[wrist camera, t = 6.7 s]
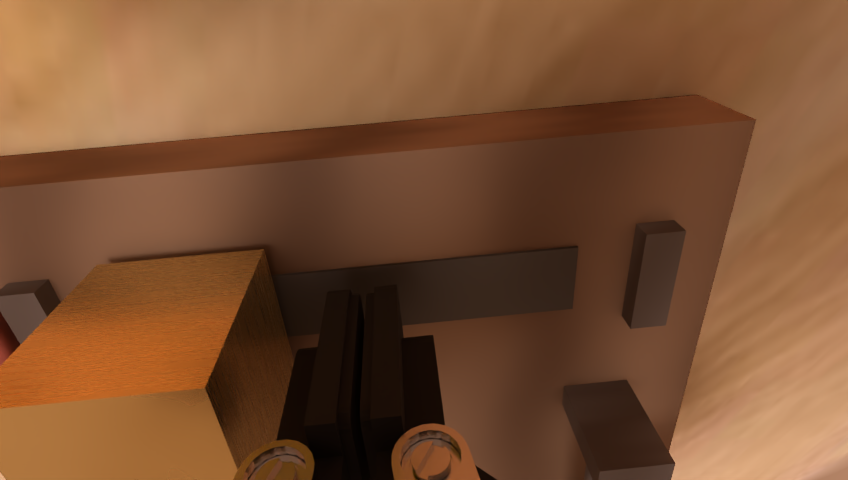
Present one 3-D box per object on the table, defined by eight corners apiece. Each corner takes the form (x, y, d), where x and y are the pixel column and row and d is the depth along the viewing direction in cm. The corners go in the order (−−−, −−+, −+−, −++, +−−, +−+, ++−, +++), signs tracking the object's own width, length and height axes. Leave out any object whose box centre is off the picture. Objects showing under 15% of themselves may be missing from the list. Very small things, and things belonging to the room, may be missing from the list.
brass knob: (263, 249, 12) (205, 387, 8) (296, 370, 14) (261, 530, 10) (97, 264, 12) (-45, 413, 8) (153, 385, 14) (61, 551, 10)
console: (697, 94, 14) (862, 165, 9) (626, 449, 21) (697, 591, 16) (-108, 166, 13) (-386, 280, 9) (107, 504, 21) (23, 667, 16)
